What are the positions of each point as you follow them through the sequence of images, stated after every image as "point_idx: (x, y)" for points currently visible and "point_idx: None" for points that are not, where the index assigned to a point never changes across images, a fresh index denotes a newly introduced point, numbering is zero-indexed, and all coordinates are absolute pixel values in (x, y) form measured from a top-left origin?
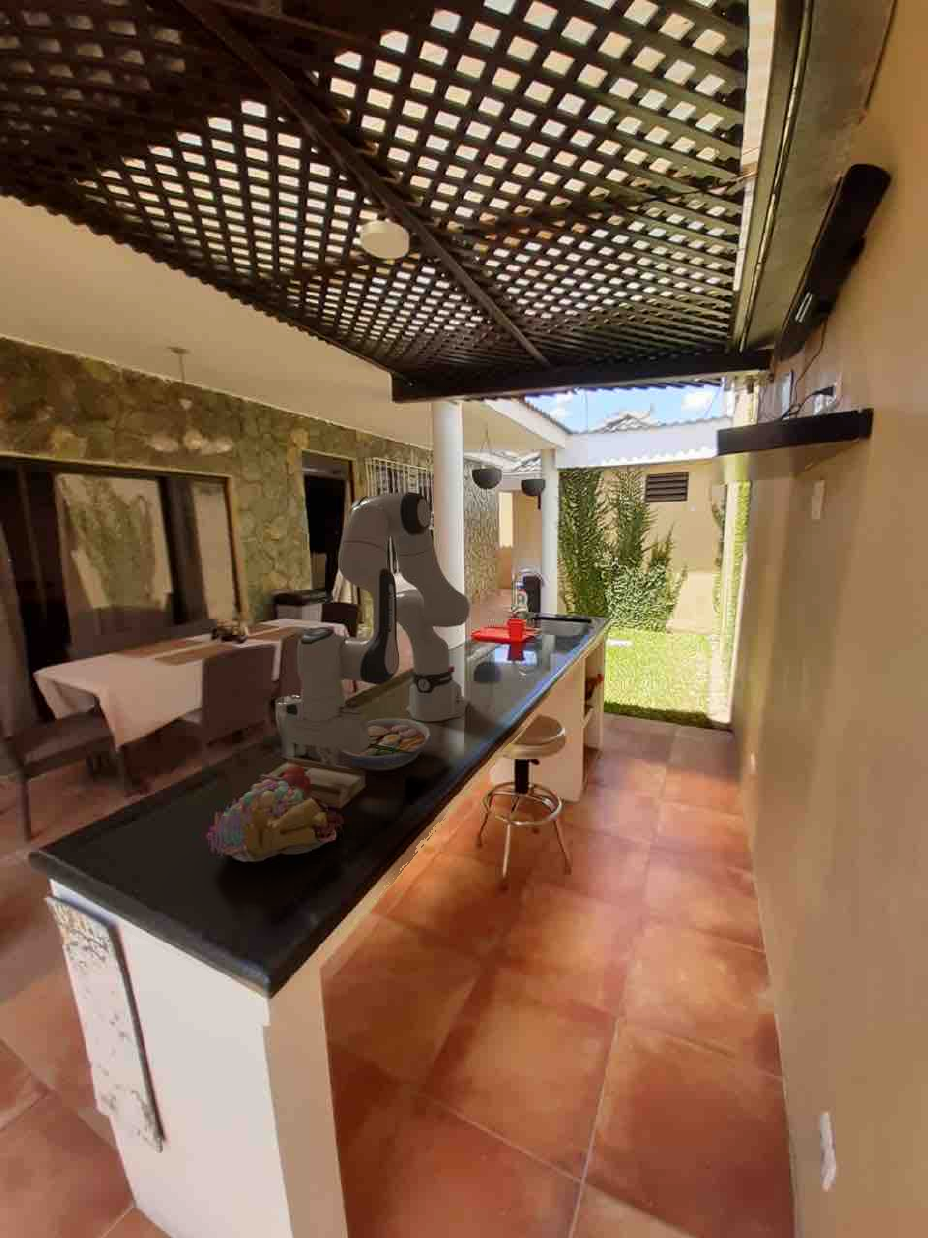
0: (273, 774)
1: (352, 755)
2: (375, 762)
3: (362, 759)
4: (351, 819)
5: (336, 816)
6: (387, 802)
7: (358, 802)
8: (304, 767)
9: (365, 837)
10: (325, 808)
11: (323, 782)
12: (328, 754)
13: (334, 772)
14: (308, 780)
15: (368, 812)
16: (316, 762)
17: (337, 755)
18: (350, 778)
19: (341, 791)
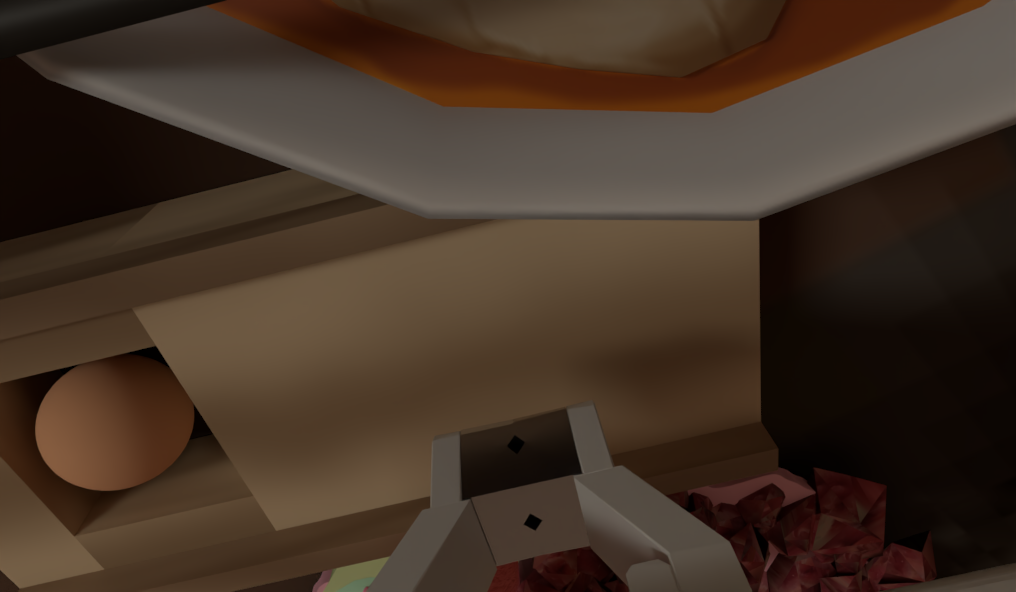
0: (14, 534)
1: (673, 202)
2: (992, 15)
3: (819, 127)
4: (852, 400)
5: (866, 539)
6: (1011, 151)
7: (790, 267)
8: (68, 344)
9: (1005, 448)
10: (758, 539)
11: (501, 405)
12: (471, 499)
13: (434, 250)
14: (514, 585)
15: (921, 307)
16: (123, 291)
17: (633, 476)
18: (675, 241)
19: (741, 406)
